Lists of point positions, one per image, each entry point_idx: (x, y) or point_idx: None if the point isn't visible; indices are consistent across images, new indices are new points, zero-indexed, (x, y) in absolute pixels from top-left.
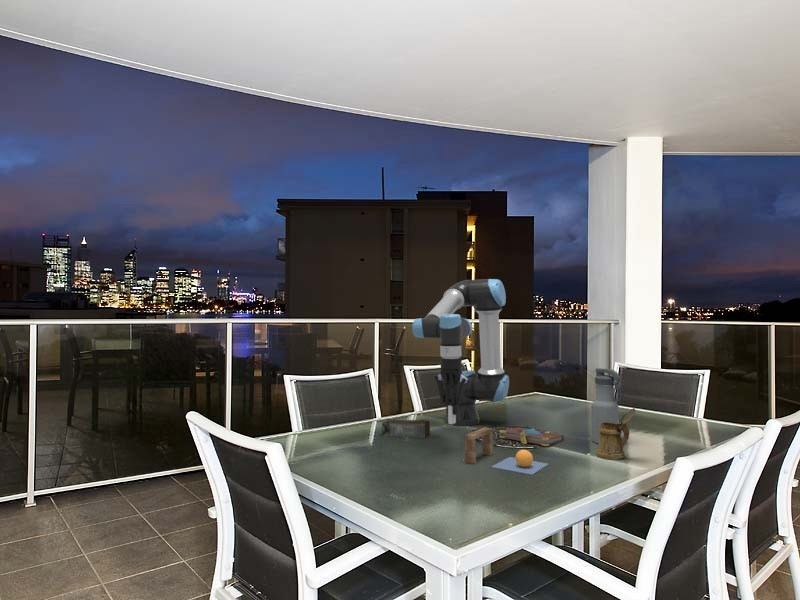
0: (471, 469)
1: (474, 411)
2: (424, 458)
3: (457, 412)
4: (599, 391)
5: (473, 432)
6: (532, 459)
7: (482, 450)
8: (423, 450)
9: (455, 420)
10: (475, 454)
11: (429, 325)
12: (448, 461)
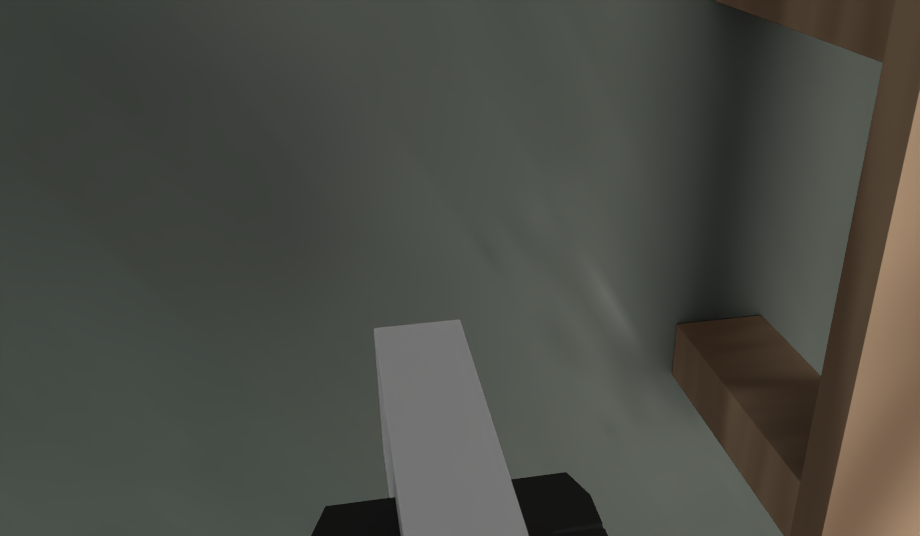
0: None
1: None
2: (275, 504)
3: (593, 503)
4: None
5: (874, 414)
6: None
7: (732, 5)
8: (22, 304)
9: (469, 357)
10: (803, 363)
11: None
12: (521, 436)
